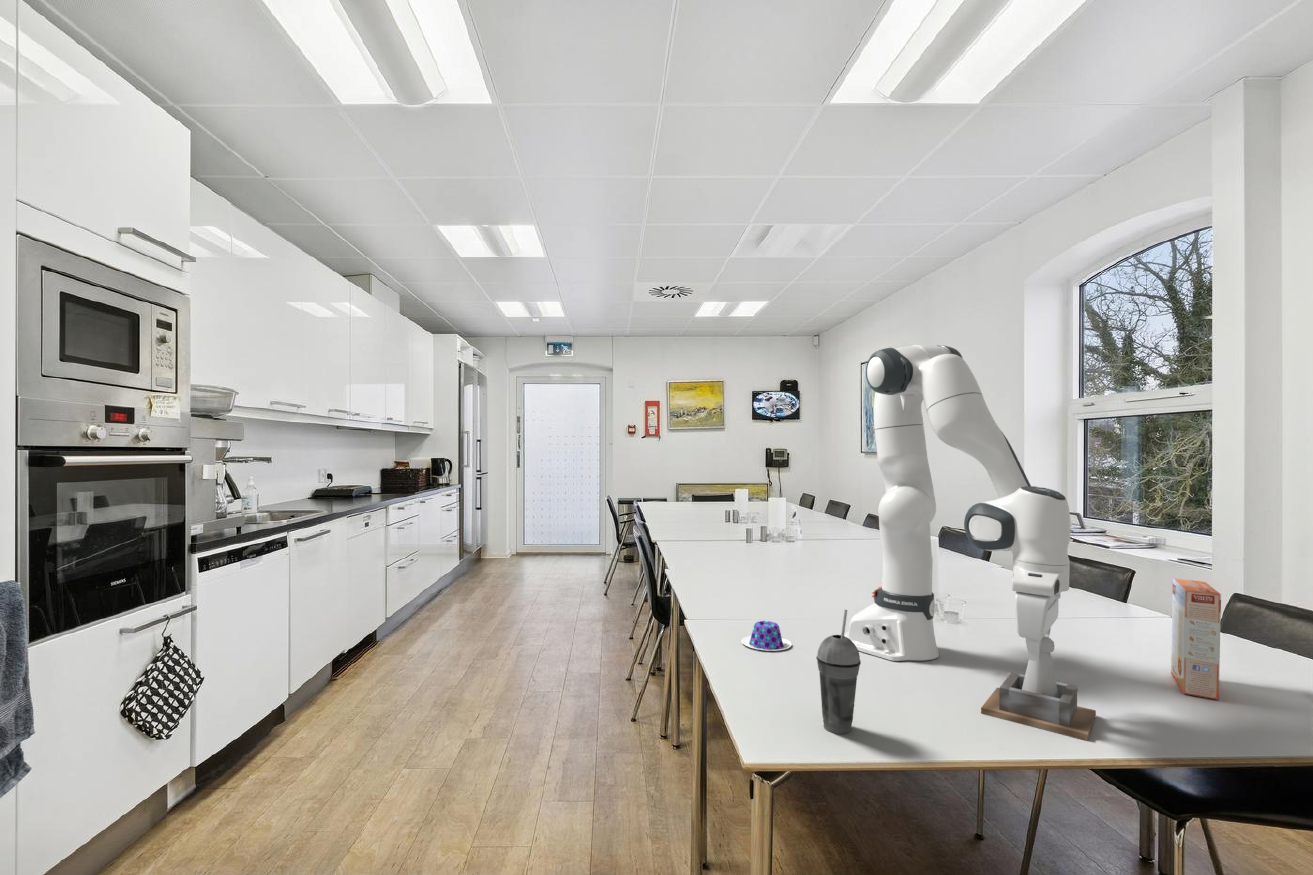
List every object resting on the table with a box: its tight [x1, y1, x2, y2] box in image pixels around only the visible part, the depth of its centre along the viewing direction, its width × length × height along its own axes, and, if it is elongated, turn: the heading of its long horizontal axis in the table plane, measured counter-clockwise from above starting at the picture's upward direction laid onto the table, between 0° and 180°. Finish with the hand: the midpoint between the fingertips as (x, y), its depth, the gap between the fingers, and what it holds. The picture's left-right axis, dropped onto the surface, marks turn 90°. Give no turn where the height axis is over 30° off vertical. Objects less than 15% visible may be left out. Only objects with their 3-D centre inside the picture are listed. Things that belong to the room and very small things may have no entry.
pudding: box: [740, 620, 793, 652], centre depth 152 cm, size 12×12×5 cm
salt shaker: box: [1022, 636, 1059, 698], centre depth 114 cm, size 6×6×13 cm
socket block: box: [980, 671, 1097, 742], centre depth 114 cm, size 16×13×5 cm
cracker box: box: [1170, 578, 1222, 701], centre depth 129 cm, size 14×6×21 cm, turn 148°
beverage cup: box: [815, 609, 862, 735], centre depth 107 cm, size 7×7×20 cm
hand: (1038, 653), depth 114 cm, fingers open, 8 cm apart
